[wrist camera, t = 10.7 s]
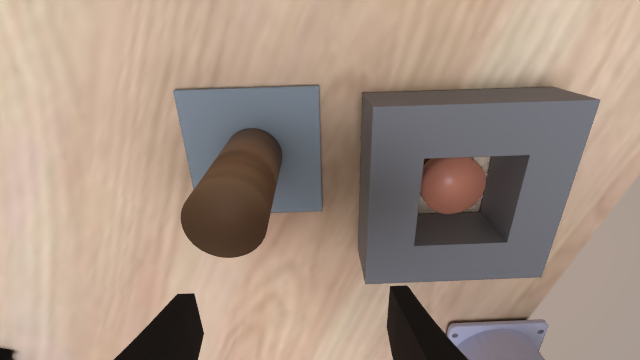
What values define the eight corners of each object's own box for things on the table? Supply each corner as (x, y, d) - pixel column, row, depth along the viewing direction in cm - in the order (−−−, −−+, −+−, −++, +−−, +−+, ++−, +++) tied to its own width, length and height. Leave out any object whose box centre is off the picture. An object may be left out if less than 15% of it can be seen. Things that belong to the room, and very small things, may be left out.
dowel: (282, 181, 21) (268, 258, 14) (227, 180, 21) (187, 257, 14) (281, 128, 20) (265, 186, 13) (222, 127, 19) (174, 184, 13)
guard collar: (510, 243, 24) (541, 277, 21) (357, 249, 24) (365, 284, 21) (552, 86, 19) (600, 99, 16) (362, 92, 19) (373, 107, 16)
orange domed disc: (471, 203, 22) (479, 213, 21) (414, 205, 22) (419, 215, 21) (481, 149, 21) (491, 156, 20) (420, 151, 21) (426, 158, 19)
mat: (321, 208, 22) (321, 210, 22) (200, 212, 22) (199, 215, 22) (318, 85, 19) (318, 86, 19) (175, 89, 19) (172, 90, 18)
